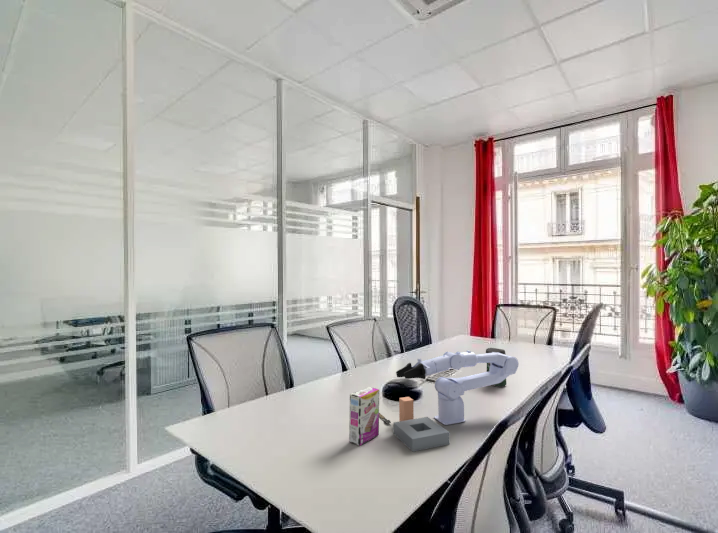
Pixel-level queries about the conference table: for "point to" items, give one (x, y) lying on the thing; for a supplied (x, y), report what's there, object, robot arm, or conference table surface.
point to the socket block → (420, 433)
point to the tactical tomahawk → (384, 418)
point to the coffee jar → (490, 350)
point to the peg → (406, 409)
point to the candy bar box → (364, 416)
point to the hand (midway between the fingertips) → (400, 375)
